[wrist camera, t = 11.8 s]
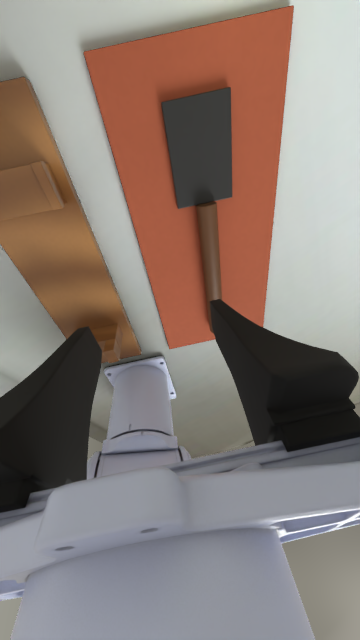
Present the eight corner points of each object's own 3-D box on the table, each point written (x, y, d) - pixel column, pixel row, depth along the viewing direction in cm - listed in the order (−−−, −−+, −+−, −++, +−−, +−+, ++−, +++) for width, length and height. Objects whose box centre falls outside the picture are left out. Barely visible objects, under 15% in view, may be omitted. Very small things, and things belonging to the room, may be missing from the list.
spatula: (233, 321, 25) (237, 329, 23) (196, 328, 25) (199, 337, 23) (228, 88, 13) (237, 80, 12) (160, 103, 13) (162, 97, 12)
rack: (141, 350, 26) (140, 381, 22) (87, 361, 26) (76, 395, 22) (30, 80, 12) (-23, 42, 8) (-86, 106, 12) (-191, 80, 8)
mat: (261, 327, 26) (262, 329, 26) (169, 347, 26) (169, 349, 26) (290, 9, 12) (294, 4, 12) (84, 54, 12) (82, 51, 12)
